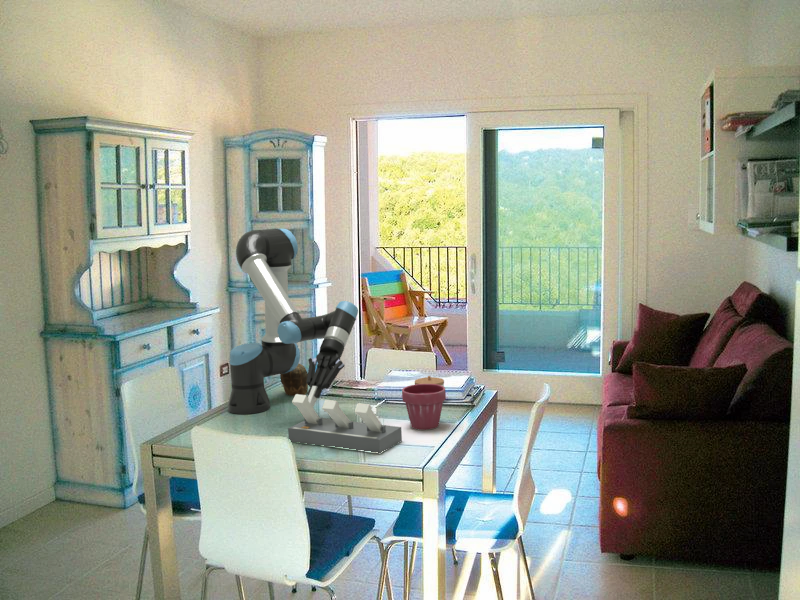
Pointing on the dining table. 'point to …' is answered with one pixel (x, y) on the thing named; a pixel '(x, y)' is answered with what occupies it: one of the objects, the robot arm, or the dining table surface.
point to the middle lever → (336, 413)
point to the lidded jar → (430, 381)
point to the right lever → (368, 417)
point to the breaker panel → (345, 435)
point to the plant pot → (424, 404)
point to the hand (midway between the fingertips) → (309, 405)
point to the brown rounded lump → (295, 381)
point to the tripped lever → (305, 408)
